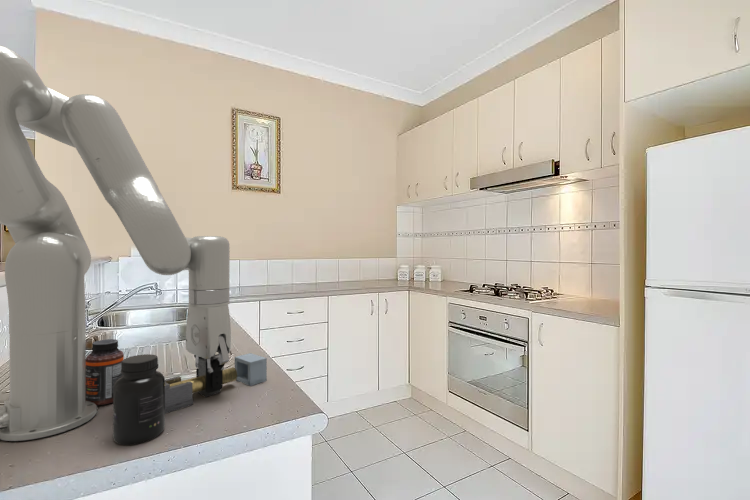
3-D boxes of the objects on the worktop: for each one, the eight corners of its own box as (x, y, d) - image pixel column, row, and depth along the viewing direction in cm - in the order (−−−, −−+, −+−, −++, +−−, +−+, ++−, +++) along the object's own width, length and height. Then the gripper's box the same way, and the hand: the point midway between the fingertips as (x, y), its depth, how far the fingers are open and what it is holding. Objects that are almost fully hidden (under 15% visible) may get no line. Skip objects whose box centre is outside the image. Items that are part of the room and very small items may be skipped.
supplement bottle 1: (76, 404, 69) (77, 343, 69) (107, 393, 75) (108, 336, 75) (101, 408, 67) (101, 346, 67) (131, 396, 73) (131, 338, 73)
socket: (250, 386, 78) (250, 362, 78) (234, 379, 82) (234, 356, 82) (266, 380, 82) (266, 358, 82) (250, 374, 86) (250, 353, 85)
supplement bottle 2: (102, 441, 56) (102, 361, 56) (145, 421, 62) (145, 350, 62) (133, 450, 53) (133, 367, 53) (175, 429, 60) (175, 354, 60)
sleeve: (133, 423, 62) (133, 394, 62) (120, 413, 65) (120, 386, 65) (193, 404, 69) (193, 378, 69) (178, 396, 73) (178, 371, 73)
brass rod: (154, 413, 65) (154, 373, 65) (147, 408, 67) (147, 369, 67) (237, 387, 78) (237, 353, 78) (229, 383, 80) (230, 351, 80)
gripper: (172, 296, 77) (172, 384, 77) (211, 303, 67) (211, 405, 67) (207, 292, 83) (207, 375, 83) (249, 299, 72) (248, 393, 73)
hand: (209, 387), depth 75 cm, fingers closed on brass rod, 3 cm apart
